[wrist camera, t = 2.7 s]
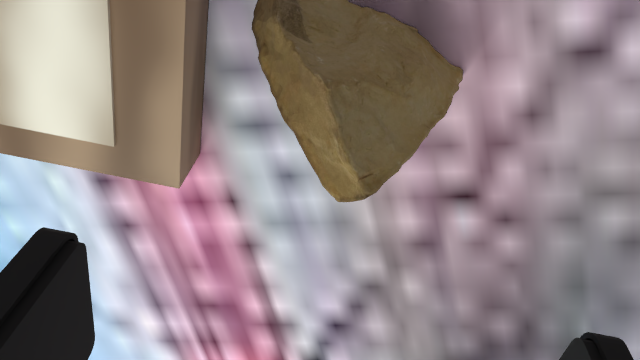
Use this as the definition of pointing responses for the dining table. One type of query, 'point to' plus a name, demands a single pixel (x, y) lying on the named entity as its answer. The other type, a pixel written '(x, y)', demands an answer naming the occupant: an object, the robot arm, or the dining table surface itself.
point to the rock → (352, 88)
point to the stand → (104, 85)
